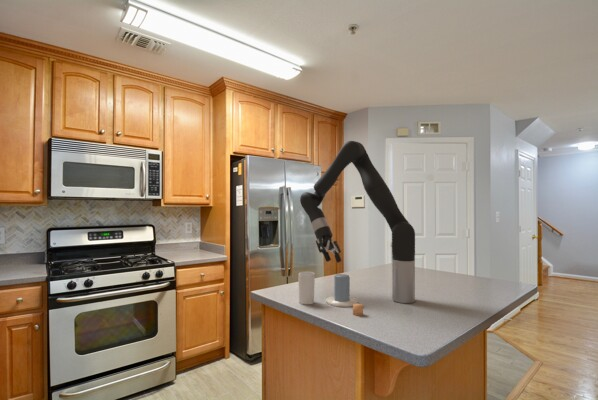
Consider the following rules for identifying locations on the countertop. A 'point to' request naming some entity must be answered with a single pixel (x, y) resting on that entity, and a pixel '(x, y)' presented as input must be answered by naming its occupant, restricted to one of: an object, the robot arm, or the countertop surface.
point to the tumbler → (341, 288)
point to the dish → (341, 304)
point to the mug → (306, 287)
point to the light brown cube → (357, 309)
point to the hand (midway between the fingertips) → (334, 261)
